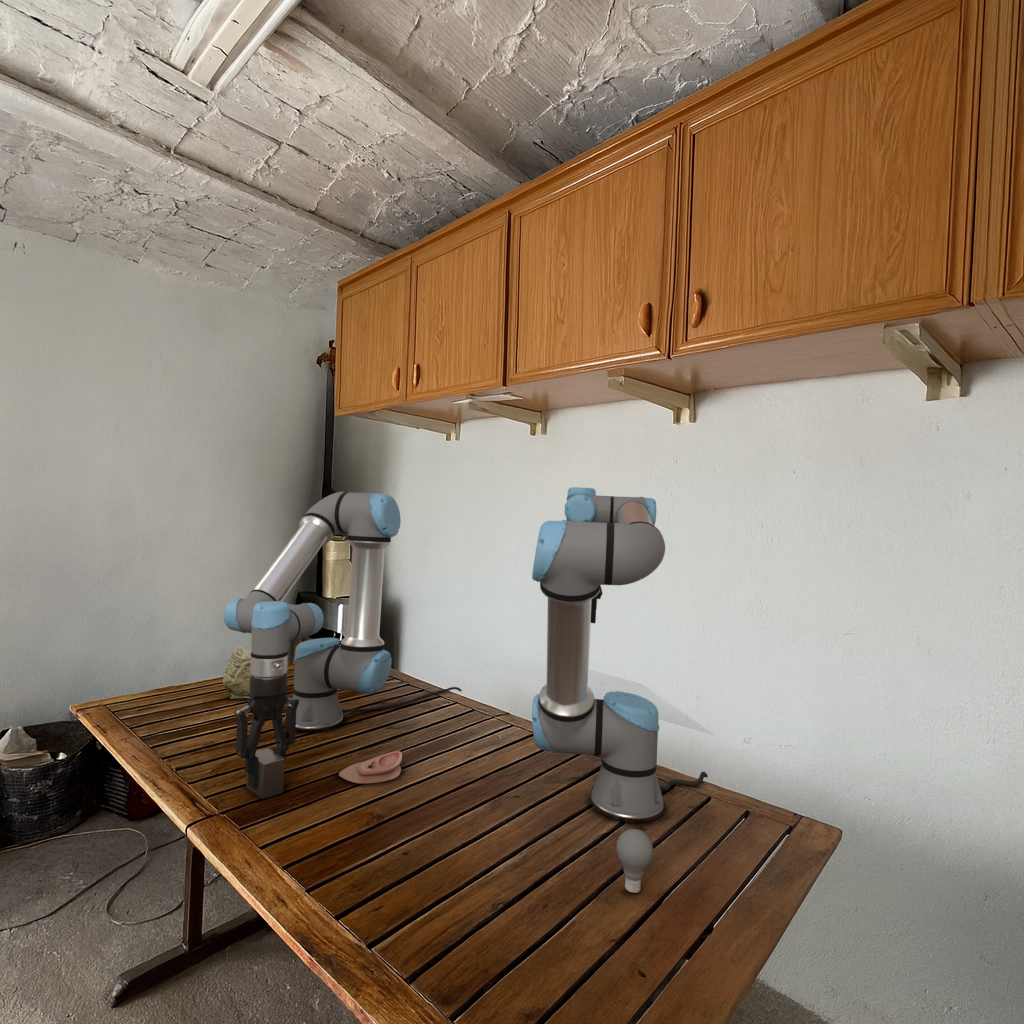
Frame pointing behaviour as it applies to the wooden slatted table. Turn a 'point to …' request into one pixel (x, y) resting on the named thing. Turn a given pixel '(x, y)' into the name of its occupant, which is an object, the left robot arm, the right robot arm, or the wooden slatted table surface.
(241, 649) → the fossil
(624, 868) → the light bulb
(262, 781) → the brick
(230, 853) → the wooden slatted table surface
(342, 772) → the anatomical model
